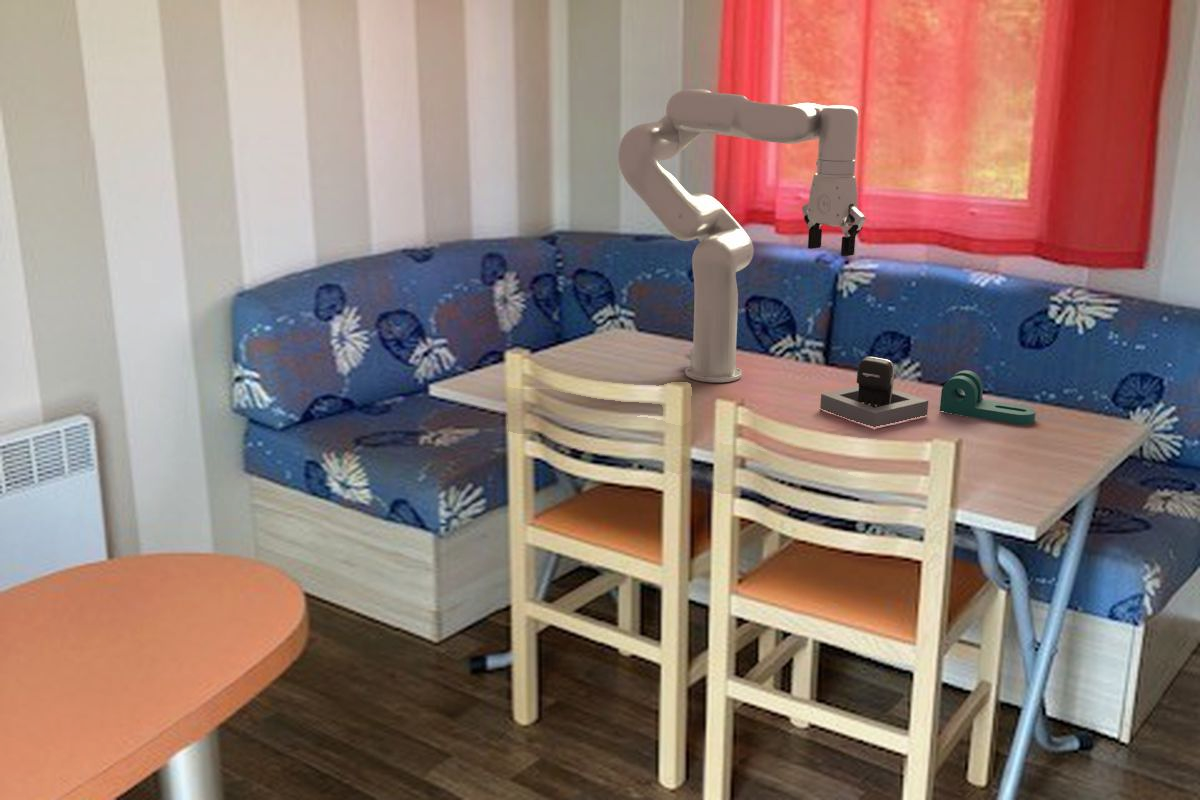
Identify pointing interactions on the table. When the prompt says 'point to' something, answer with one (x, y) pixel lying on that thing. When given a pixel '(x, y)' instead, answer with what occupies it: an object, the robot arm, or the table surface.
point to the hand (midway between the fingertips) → (830, 251)
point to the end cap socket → (850, 408)
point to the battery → (875, 381)
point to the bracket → (980, 401)
